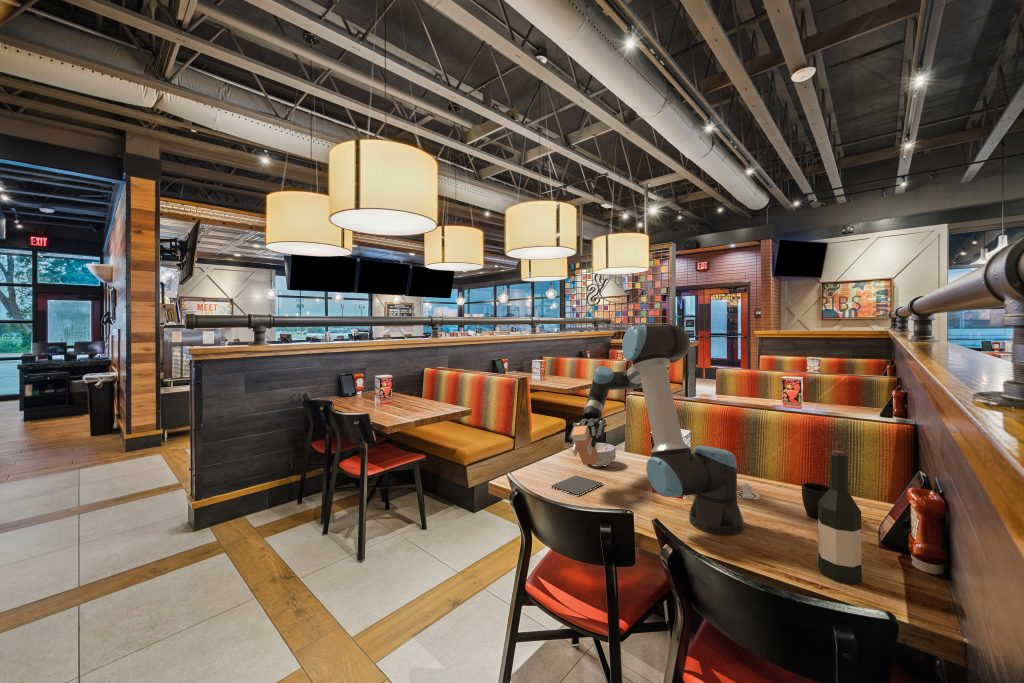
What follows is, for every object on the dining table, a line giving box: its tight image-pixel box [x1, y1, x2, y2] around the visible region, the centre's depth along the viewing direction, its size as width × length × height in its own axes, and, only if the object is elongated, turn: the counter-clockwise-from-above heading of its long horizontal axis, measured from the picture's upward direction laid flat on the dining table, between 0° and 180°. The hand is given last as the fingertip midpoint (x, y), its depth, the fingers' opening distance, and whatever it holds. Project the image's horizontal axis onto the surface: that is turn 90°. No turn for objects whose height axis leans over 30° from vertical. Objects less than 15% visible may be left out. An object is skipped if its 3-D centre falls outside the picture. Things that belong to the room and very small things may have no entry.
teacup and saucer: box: [737, 482, 761, 500], centre depth 151 cm, size 9×8×4 cm
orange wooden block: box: [571, 426, 598, 465], centre depth 158 cm, size 5×5×14 cm
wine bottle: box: [817, 449, 863, 586], centre depth 102 cm, size 8×8×30 cm
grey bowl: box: [591, 442, 617, 466], centre depth 190 cm, size 15×15×8 cm
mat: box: [550, 475, 604, 496], centre depth 164 cm, size 13×16×1 cm
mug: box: [801, 482, 830, 521], centre depth 131 cm, size 8×12×10 cm
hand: (581, 452), depth 153 cm, fingers closed on orange wooden block, 5 cm apart
